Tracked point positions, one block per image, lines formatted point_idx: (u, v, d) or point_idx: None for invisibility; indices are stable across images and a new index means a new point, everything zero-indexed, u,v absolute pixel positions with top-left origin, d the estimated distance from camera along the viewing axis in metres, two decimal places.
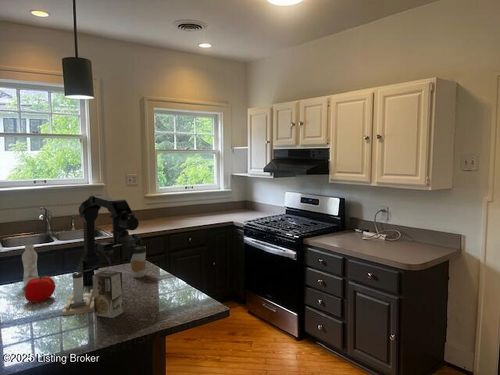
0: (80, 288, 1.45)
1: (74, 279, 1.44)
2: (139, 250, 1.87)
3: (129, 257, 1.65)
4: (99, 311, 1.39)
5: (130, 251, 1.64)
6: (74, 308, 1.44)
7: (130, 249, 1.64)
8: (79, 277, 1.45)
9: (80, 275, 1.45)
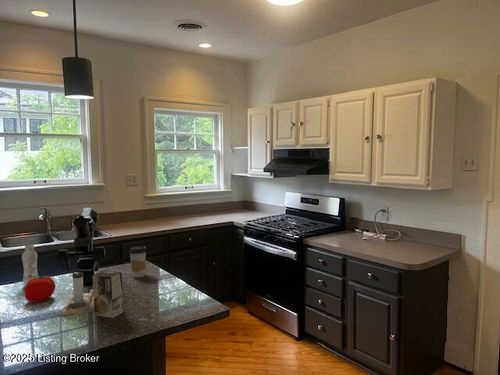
0: (80, 288, 1.45)
1: (74, 279, 1.44)
2: (139, 250, 1.87)
3: (92, 267, 1.56)
4: (99, 311, 1.39)
5: (93, 260, 1.57)
6: (74, 308, 1.44)
7: None
8: (79, 277, 1.45)
9: (80, 275, 1.45)
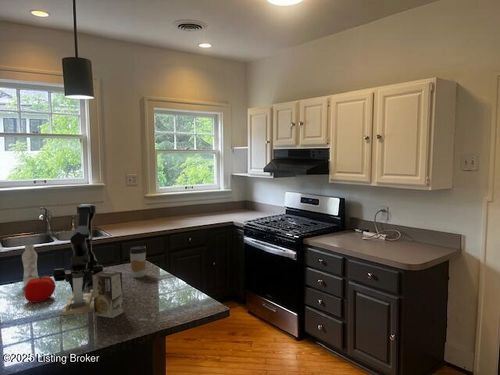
0: (80, 288, 1.45)
1: (74, 279, 1.44)
2: (139, 250, 1.87)
3: None
4: (99, 311, 1.39)
5: None
6: (74, 308, 1.44)
7: None
8: (79, 277, 1.45)
9: (80, 275, 1.45)
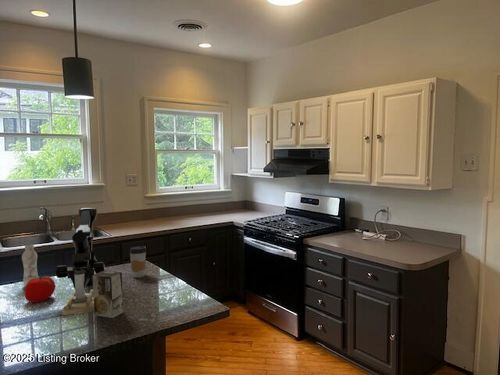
0: (82, 284, 1.50)
1: (76, 275, 1.49)
2: (139, 250, 1.87)
3: (84, 284, 1.51)
4: (99, 311, 1.39)
5: None
6: (74, 308, 1.44)
7: None
8: (81, 273, 1.49)
9: (82, 272, 1.50)
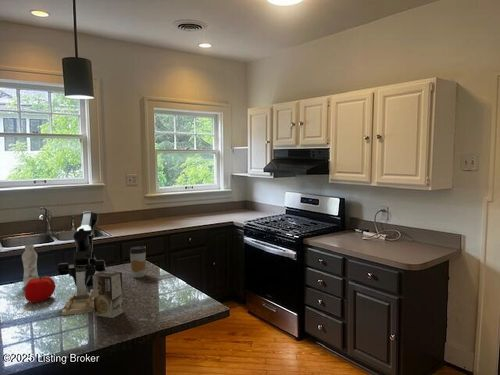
0: (83, 281, 1.54)
1: (77, 273, 1.53)
2: (139, 250, 1.87)
3: (85, 281, 1.55)
4: (99, 311, 1.39)
5: (86, 274, 1.56)
6: (74, 308, 1.44)
7: None
8: (82, 271, 1.53)
9: (83, 269, 1.53)
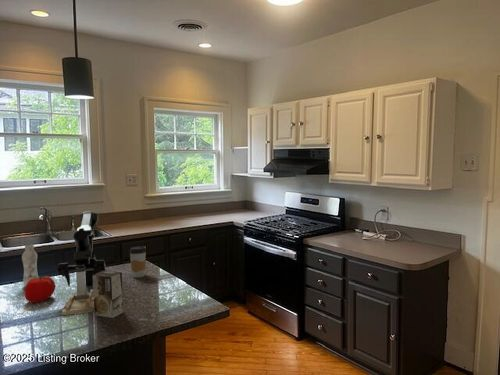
0: (83, 281, 1.54)
1: (77, 273, 1.53)
2: (139, 250, 1.87)
3: (92, 280, 1.56)
4: (99, 311, 1.39)
5: None
6: (74, 308, 1.44)
7: (93, 272, 1.58)
8: (82, 271, 1.53)
9: (83, 269, 1.54)
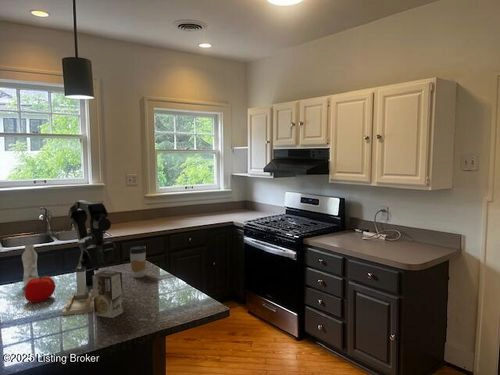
0: (83, 281, 1.54)
1: (77, 273, 1.53)
2: (139, 250, 1.87)
3: None
4: (99, 311, 1.39)
5: None
6: (74, 308, 1.44)
7: None
8: (82, 271, 1.53)
9: (83, 269, 1.54)
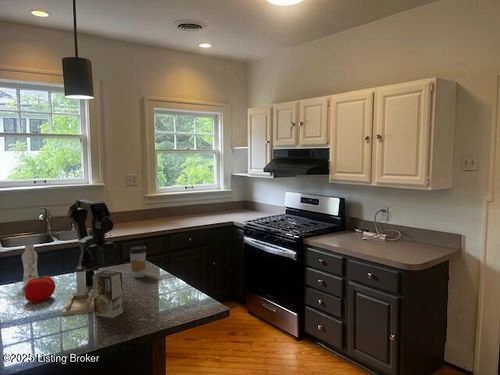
0: (83, 281, 1.54)
1: (77, 273, 1.53)
2: (139, 250, 1.87)
3: None
4: (99, 311, 1.39)
5: None
6: (74, 308, 1.44)
7: None
8: (82, 271, 1.53)
9: (83, 269, 1.54)
